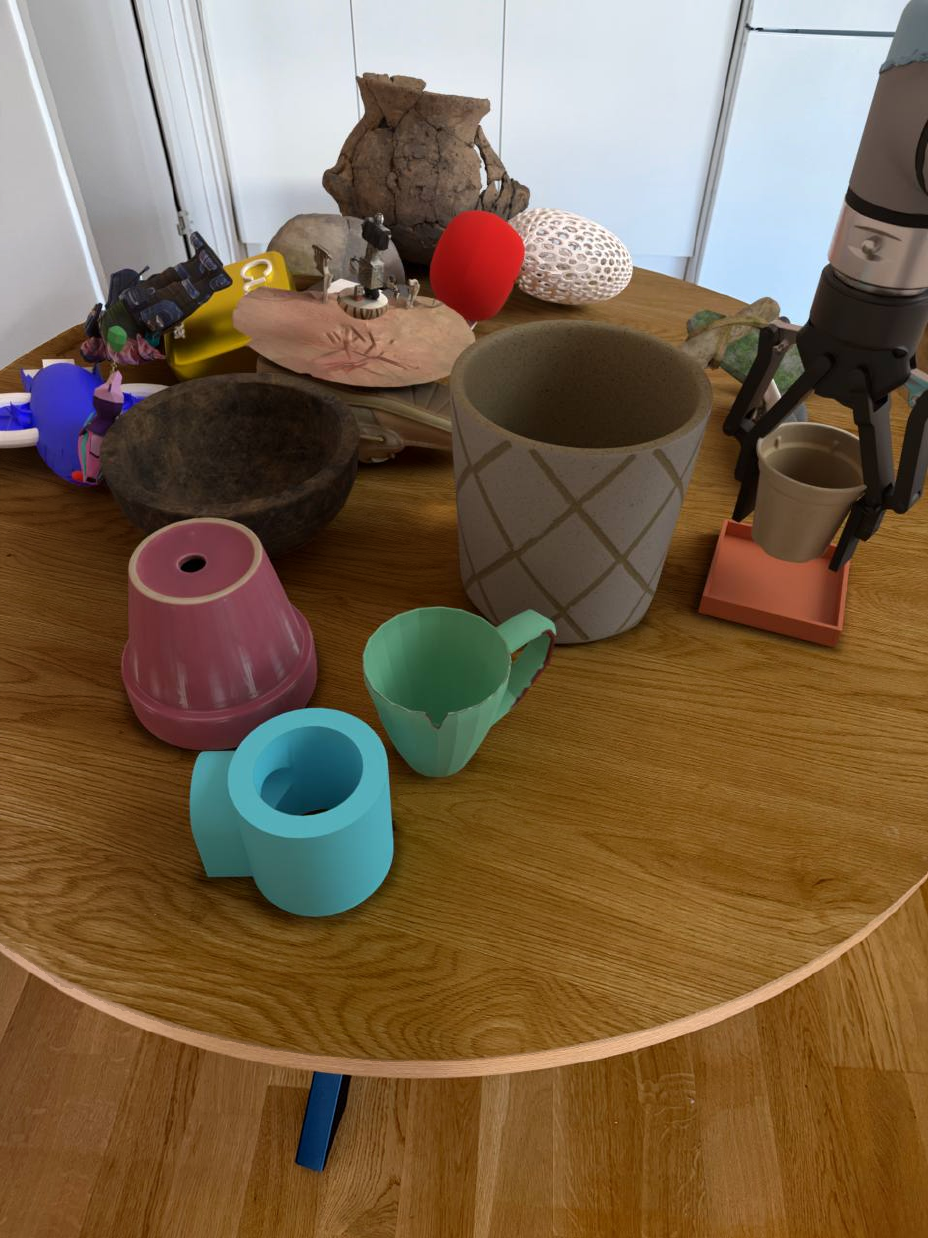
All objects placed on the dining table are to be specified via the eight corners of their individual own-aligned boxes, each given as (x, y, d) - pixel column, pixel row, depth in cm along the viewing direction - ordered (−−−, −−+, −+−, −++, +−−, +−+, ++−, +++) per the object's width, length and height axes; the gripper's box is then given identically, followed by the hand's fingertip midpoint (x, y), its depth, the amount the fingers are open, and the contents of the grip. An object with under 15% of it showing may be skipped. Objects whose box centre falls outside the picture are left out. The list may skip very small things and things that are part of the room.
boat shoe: (510, 399, 93) (492, 470, 97) (279, 337, 94) (272, 409, 98) (496, 427, 85) (478, 503, 89) (246, 359, 86) (239, 436, 91)
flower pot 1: (289, 632, 57) (308, 754, 66) (312, 496, 67) (326, 619, 76) (60, 629, 57) (110, 753, 66) (118, 493, 67) (154, 617, 76)
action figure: (214, 265, 88) (72, 381, 90) (256, 315, 93) (121, 424, 95) (172, 194, 101) (49, 296, 103) (211, 241, 106) (93, 338, 108)
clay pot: (285, 235, 121) (303, 49, 111) (392, 238, 140) (416, 78, 129) (435, 284, 111) (471, 84, 101) (529, 281, 130) (567, 111, 119)
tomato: (467, 173, 102) (550, 215, 103) (443, 241, 113) (519, 278, 114) (430, 251, 98) (517, 294, 99) (409, 314, 109) (488, 352, 110)
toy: (160, 293, 85) (133, 436, 93) (115, 279, 84) (91, 425, 91) (142, 345, 73) (111, 507, 80) (88, 330, 72) (62, 495, 79)
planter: (695, 650, 74) (754, 444, 60) (465, 672, 72) (470, 463, 58) (632, 508, 88) (667, 312, 74) (435, 523, 86) (434, 324, 72)
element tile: (175, 315, 109) (156, 282, 105) (293, 275, 109) (279, 241, 105) (184, 399, 101) (164, 367, 97) (312, 356, 101) (297, 322, 96)
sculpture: (509, 327, 100) (538, 183, 89) (406, 442, 85) (424, 285, 73) (314, 252, 105) (316, 106, 93) (182, 348, 90) (165, 187, 78)
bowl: (243, 648, 73) (222, 553, 66) (77, 541, 83) (43, 448, 76) (414, 517, 86) (412, 426, 79) (254, 436, 95) (239, 348, 88)
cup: (199, 919, 57) (169, 840, 51) (223, 792, 64) (199, 709, 57) (391, 915, 57) (385, 837, 51) (395, 790, 64) (390, 707, 58)
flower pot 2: (824, 504, 80) (855, 419, 74) (865, 576, 73) (902, 488, 67) (719, 507, 79) (742, 421, 73) (750, 579, 73) (778, 492, 67)
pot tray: (844, 564, 82) (851, 547, 81) (834, 648, 75) (842, 630, 73) (719, 534, 85) (724, 517, 84) (697, 612, 78) (702, 595, 76)
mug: (417, 831, 62) (413, 739, 55) (345, 736, 67) (334, 642, 60) (582, 736, 68) (598, 642, 61) (504, 656, 74) (510, 562, 67)
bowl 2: (413, 227, 121) (407, 291, 124) (281, 208, 120) (277, 272, 123) (408, 221, 104) (400, 295, 107) (253, 198, 103) (249, 273, 106)
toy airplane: (-71, 465, 79) (-57, 514, 82) (222, 443, 88) (223, 488, 92) (-66, 342, 95) (-55, 388, 98) (181, 334, 104) (184, 376, 107)
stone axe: (577, 398, 94) (621, 253, 112) (568, 436, 98) (612, 290, 116) (827, 459, 92) (830, 300, 110) (808, 494, 95) (814, 336, 114)
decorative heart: (568, 322, 108) (631, 319, 121) (595, 227, 102) (658, 235, 116) (450, 277, 115) (521, 278, 128) (470, 187, 110) (542, 198, 123)
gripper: (715, 241, 63) (660, 502, 79) (1024, 347, 53) (890, 622, 69) (770, 212, 67) (707, 467, 83) (1068, 306, 57) (931, 576, 73)
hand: (790, 537), depth 76 cm, fingers closed on flower pot 2, 8 cm apart
